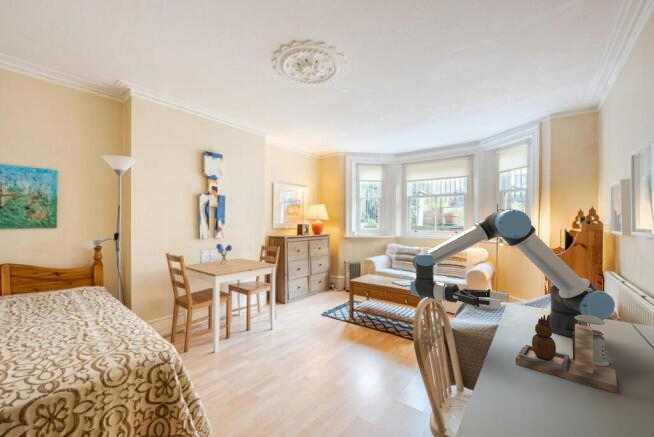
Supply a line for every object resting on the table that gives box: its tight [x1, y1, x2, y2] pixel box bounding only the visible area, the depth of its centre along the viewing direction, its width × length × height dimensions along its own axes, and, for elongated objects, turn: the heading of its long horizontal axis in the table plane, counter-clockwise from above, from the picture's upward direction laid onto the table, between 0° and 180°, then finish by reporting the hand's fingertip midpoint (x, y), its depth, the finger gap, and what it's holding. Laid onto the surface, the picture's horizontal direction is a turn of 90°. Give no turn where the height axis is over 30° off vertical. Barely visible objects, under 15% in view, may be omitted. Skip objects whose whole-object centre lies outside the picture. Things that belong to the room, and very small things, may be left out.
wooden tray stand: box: [515, 324, 618, 394], centre depth 93 cm, size 24×13×15 cm, turn 46°
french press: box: [571, 288, 610, 367], centre depth 102 cm, size 10×12×25 cm
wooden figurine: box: [531, 314, 557, 360], centre depth 96 cm, size 7×6×15 cm
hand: (504, 300), depth 107 cm, fingers open, 13 cm apart
